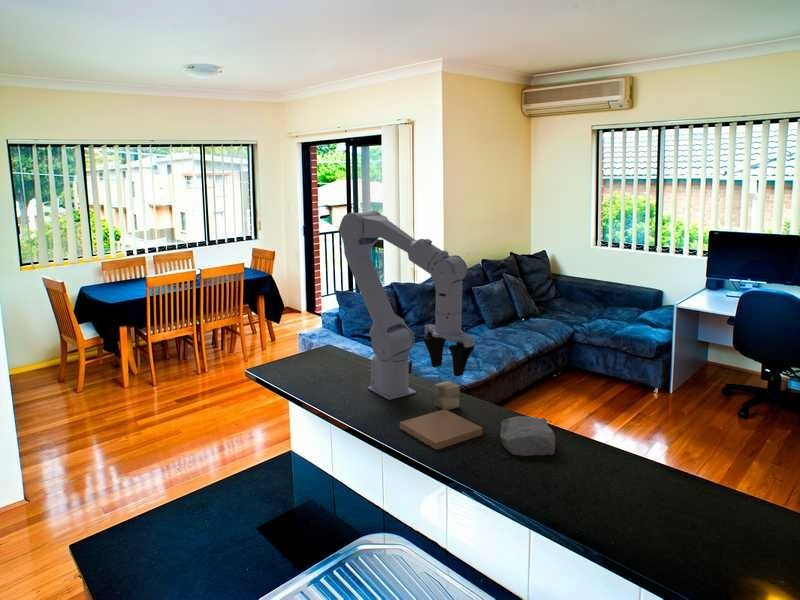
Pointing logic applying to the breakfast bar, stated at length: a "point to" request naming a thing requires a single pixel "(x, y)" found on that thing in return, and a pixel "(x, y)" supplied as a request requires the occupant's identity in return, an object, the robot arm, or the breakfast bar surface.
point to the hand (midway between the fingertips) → (447, 370)
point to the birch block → (447, 395)
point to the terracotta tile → (441, 429)
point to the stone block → (527, 436)
